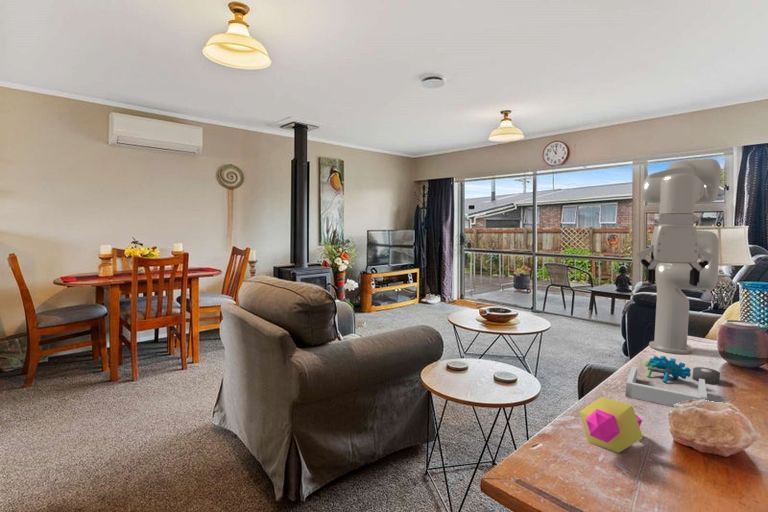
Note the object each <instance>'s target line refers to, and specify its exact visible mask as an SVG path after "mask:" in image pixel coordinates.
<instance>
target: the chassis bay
mask: <svg viewBox="0 0 768 512" xmlns="http://www.w3.org/2000/svg"><path fill="white" fill-rule="evenodd" d="M637 374H638V367H637V366H631V368H630V372H629V374H628V377H627V380H626V383H625V397H627V396H629V397H628V398H632V397H633V398H632V399H637V400H640V401H641V400H642V401H646V402H649V403H650V402H651V403H655V404H658V405H659V404H660V405H664V406H669V407H672V406H673V405H674V404H676V403H679V402H682V401H686V400H693V399H705V400H707V401H708V394H707V387H706V385H707V384H705V379H699V382H698V384H697V385H698V386H697V387H698V388H697V394H698V395H696V394H692V393H687V392H681V391H676V390H672V389H668V388H667V389H666V388H663V387H662V388H661V387H656V386H652V385H648V384H647V385H646V384H642V383H637V378H638V377H637Z"/></svg>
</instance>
